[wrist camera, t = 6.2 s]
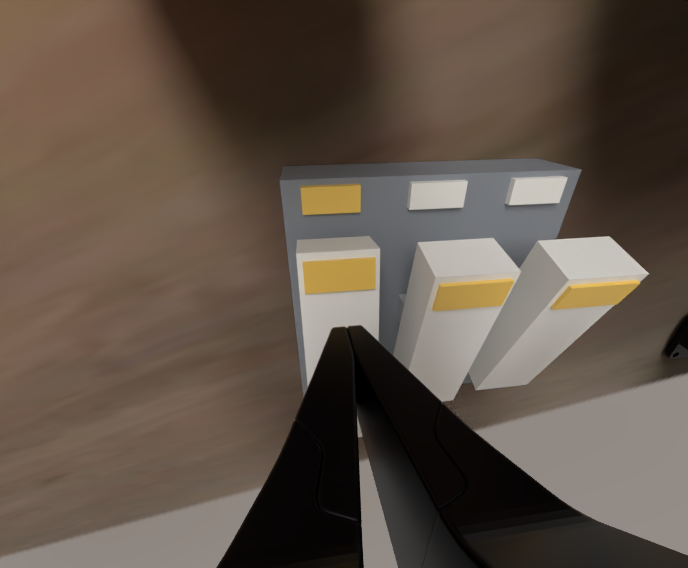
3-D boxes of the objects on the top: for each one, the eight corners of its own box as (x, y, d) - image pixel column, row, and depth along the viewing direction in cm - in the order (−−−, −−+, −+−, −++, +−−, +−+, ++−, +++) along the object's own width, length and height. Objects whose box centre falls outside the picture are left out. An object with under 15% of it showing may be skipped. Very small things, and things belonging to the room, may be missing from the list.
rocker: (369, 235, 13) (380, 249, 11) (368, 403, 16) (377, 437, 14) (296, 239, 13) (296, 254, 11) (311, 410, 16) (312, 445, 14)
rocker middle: (493, 237, 12) (523, 274, 10) (439, 367, 18) (454, 402, 16) (417, 242, 12) (437, 280, 10) (389, 372, 18) (398, 409, 16)
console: (536, 158, 16) (600, 174, 13) (481, 347, 23) (514, 391, 19) (282, 166, 15) (278, 186, 11) (303, 364, 21) (304, 414, 18)
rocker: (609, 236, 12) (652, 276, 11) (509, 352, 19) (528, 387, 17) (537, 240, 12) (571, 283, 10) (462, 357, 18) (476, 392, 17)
